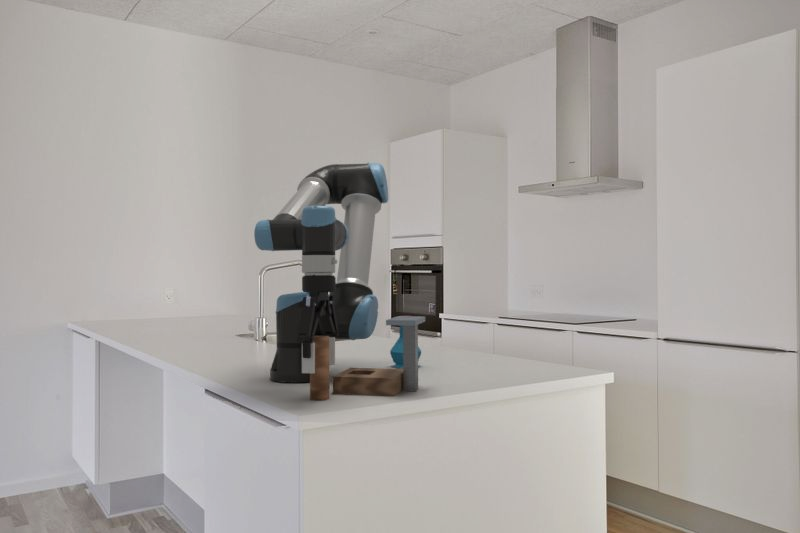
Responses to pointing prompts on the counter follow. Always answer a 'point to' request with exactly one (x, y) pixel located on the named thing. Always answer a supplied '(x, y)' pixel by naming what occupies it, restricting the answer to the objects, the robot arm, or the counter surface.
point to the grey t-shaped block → (409, 349)
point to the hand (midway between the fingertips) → (319, 368)
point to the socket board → (369, 381)
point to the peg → (320, 370)
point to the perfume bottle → (400, 351)
